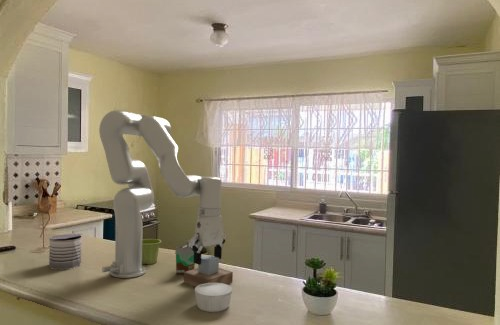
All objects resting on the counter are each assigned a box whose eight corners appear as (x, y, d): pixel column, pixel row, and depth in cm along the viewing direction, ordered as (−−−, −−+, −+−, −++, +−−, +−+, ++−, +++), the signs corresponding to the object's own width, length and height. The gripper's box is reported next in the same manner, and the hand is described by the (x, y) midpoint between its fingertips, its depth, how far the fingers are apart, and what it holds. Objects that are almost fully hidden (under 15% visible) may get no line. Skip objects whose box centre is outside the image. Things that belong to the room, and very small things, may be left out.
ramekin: (213, 296, 119) (213, 279, 119) (239, 305, 112) (240, 288, 112) (186, 306, 110) (186, 288, 110) (213, 317, 103) (213, 298, 103)
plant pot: (133, 261, 154) (133, 240, 153) (155, 258, 159) (155, 237, 159) (142, 267, 146) (142, 245, 146) (164, 263, 152) (165, 242, 152)
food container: (190, 277, 136) (191, 249, 136) (174, 275, 137) (175, 248, 137) (201, 267, 148) (202, 242, 148) (186, 265, 149) (187, 240, 149)
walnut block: (207, 292, 123) (207, 280, 123) (183, 283, 131) (184, 272, 131) (232, 283, 132) (232, 272, 132) (208, 275, 140) (209, 264, 140)
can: (57, 272, 138) (58, 239, 138) (43, 265, 145) (43, 234, 145) (87, 265, 147) (87, 234, 147) (72, 259, 154) (72, 230, 154)
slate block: (208, 275, 128) (209, 260, 128) (198, 272, 131) (198, 257, 131) (218, 271, 132) (218, 257, 132) (208, 268, 135) (208, 255, 135)
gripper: (198, 216, 122) (196, 268, 122) (234, 211, 135) (232, 258, 135) (183, 213, 127) (181, 263, 127) (219, 208, 140) (217, 254, 140)
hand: (207, 260), depth 131 cm, fingers open, 9 cm apart
